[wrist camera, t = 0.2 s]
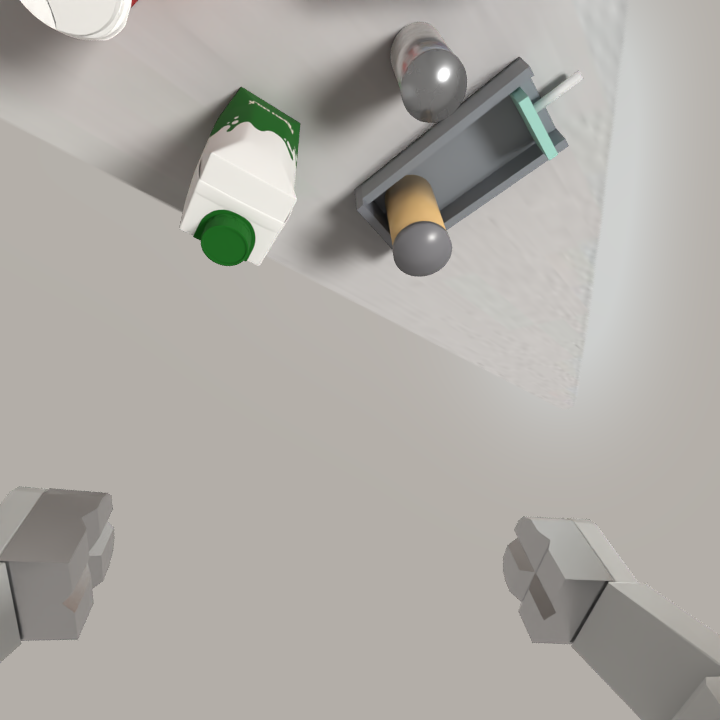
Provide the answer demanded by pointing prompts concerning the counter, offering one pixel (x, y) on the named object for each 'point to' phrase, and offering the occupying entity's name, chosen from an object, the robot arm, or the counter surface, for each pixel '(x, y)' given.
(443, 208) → the grey tray
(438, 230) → the amber jar
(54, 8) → the coffee cup
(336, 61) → the counter surface
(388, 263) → the counter surface
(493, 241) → the counter surface
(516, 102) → the pusher
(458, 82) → the steel tin
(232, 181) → the milk carton
